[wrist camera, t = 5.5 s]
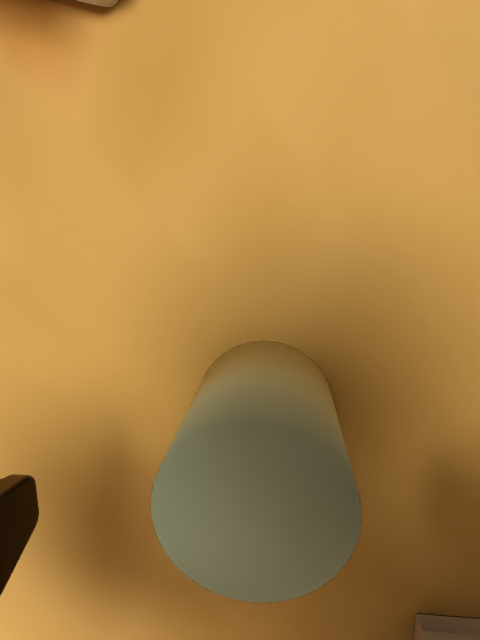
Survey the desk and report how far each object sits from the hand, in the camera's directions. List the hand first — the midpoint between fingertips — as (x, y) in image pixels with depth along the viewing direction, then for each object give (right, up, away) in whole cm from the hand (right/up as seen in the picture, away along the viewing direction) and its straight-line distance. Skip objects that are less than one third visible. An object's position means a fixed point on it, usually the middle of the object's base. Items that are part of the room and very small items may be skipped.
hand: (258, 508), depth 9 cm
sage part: (0, +1, +5) cm, 5 cm away
